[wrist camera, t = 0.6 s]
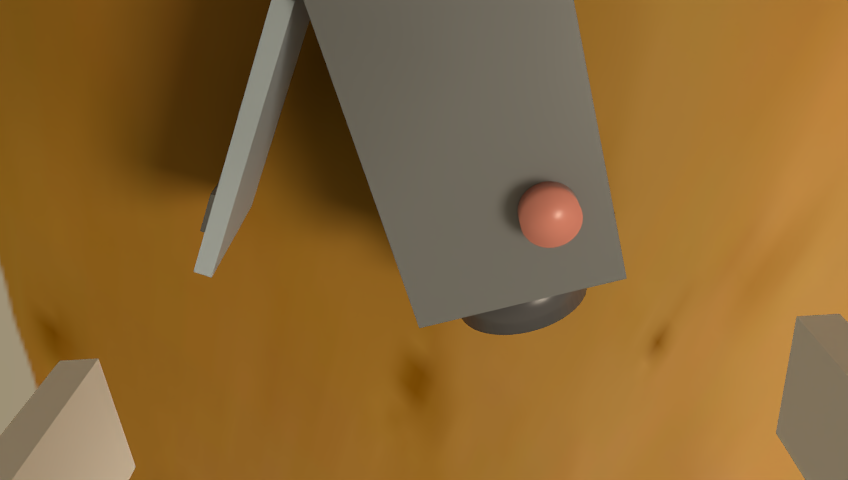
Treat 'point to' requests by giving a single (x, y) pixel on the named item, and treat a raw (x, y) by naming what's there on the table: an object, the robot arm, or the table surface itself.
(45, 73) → the table surface
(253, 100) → the door
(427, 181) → the cam body
